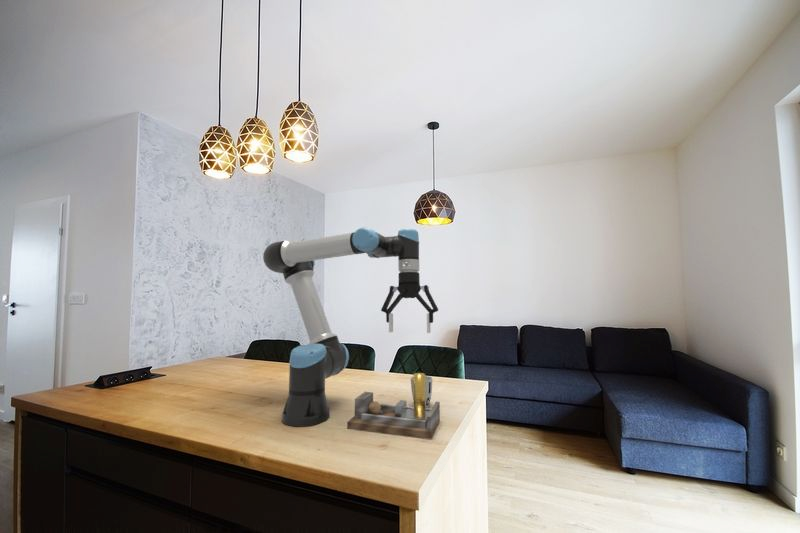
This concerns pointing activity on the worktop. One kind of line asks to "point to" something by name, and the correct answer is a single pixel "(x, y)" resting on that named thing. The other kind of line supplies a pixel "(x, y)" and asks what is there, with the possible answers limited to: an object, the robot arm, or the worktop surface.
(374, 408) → the nut
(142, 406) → the worktop surface
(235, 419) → the worktop surface
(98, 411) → the worktop surface
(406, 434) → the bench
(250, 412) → the worktop surface
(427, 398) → the cup
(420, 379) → the lever
